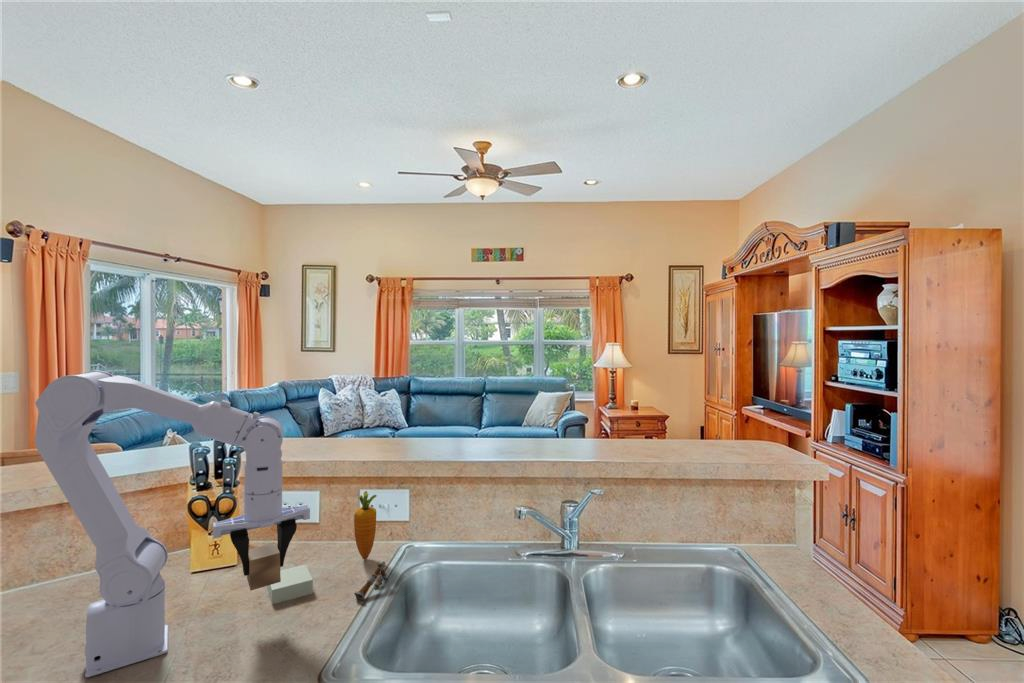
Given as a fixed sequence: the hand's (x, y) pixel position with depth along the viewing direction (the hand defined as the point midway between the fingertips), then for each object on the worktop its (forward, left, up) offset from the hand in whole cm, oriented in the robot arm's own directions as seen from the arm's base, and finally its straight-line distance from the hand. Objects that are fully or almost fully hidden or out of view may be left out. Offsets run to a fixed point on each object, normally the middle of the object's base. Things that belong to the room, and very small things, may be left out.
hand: (263, 568), depth 80 cm
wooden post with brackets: (+19, 0, -10) cm, 21 cm away
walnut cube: (0, 0, -2) cm, 2 cm away
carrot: (+22, +13, -10) cm, 27 cm away
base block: (+6, +9, -10) cm, 14 cm away
